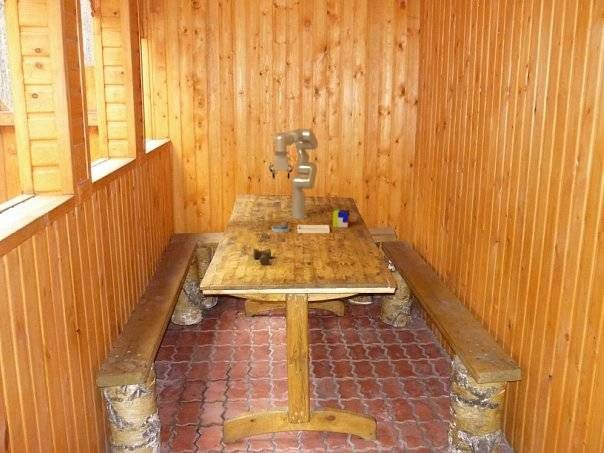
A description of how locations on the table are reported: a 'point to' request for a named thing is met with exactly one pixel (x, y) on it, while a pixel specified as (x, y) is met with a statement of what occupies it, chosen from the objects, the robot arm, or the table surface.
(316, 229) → the white rectangular frame
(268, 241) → the table surface
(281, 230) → the bowl
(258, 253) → the kendama
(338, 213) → the puzzle toy
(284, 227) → the ball
